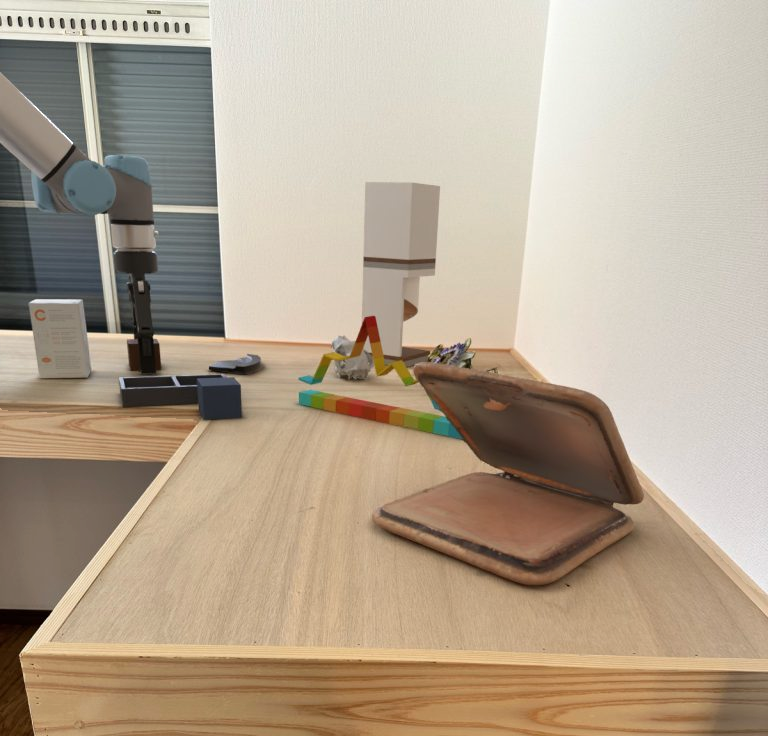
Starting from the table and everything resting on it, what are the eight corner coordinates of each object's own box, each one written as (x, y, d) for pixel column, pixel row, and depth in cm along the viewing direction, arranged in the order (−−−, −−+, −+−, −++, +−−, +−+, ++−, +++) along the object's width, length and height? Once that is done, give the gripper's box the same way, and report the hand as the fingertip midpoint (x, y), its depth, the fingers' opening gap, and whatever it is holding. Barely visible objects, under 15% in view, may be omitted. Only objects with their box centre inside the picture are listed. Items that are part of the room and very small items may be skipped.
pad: (203, 420, 107) (202, 386, 105) (198, 410, 111) (196, 378, 109) (242, 417, 108) (240, 384, 107) (235, 408, 113) (233, 377, 111)
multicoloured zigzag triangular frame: (474, 434, 105) (483, 328, 99) (463, 439, 102) (472, 330, 96) (311, 400, 120) (311, 307, 115) (298, 404, 118) (298, 308, 112)
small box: (92, 371, 135) (83, 298, 130) (87, 378, 130) (79, 302, 125) (44, 371, 133) (34, 298, 129) (38, 379, 128) (27, 302, 123)
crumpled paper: (345, 370, 132) (325, 318, 136) (335, 397, 140) (316, 347, 144) (384, 365, 135) (364, 314, 139) (372, 392, 143) (353, 343, 147)
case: (646, 528, 74) (676, 371, 68) (540, 597, 59) (566, 404, 53) (481, 479, 87) (493, 342, 81) (359, 526, 72) (363, 363, 66)
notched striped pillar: (403, 367, 151) (412, 182, 138) (360, 360, 156) (365, 182, 143) (429, 360, 160) (440, 186, 147) (388, 354, 165) (394, 185, 152)
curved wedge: (277, 363, 149) (276, 355, 149) (245, 375, 137) (245, 366, 137) (240, 360, 152) (240, 352, 151) (206, 371, 140) (206, 362, 139)
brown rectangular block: (130, 370, 137) (128, 343, 135) (128, 365, 142) (126, 339, 140) (161, 369, 139) (159, 343, 137) (158, 364, 144) (156, 338, 142)
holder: (122, 407, 112) (121, 389, 111) (120, 394, 119) (118, 377, 118) (234, 401, 118) (233, 384, 117) (225, 389, 125) (224, 373, 124)
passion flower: (433, 425, 129) (411, 364, 131) (487, 410, 132) (465, 351, 134) (453, 402, 119) (429, 336, 120) (511, 387, 122) (487, 322, 123)
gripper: (163, 254, 123) (172, 378, 131) (150, 247, 145) (159, 354, 153) (116, 253, 121) (129, 380, 129) (110, 246, 142) (122, 355, 150)
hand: (145, 366), depth 141 cm, fingers open, 13 cm apart
